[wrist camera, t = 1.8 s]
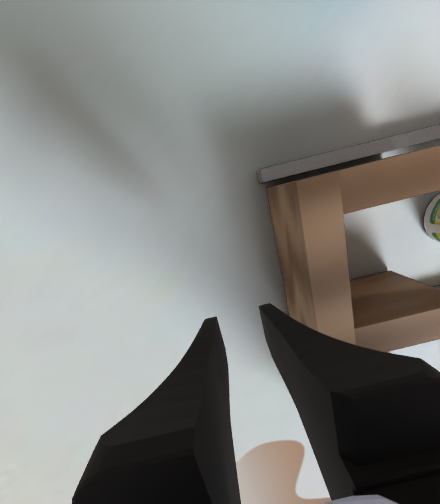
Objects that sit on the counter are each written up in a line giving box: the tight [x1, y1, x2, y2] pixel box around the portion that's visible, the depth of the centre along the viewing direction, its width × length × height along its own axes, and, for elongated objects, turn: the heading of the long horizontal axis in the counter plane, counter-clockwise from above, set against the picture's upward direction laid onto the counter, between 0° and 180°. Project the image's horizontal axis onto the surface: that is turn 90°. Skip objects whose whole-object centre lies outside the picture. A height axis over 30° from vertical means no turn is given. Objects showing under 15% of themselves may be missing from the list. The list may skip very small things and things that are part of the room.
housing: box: [266, 145, 440, 352], centre depth 17 cm, size 13×10×6 cm
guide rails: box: [257, 124, 440, 290], centre depth 19 cm, size 16×21×2 cm
